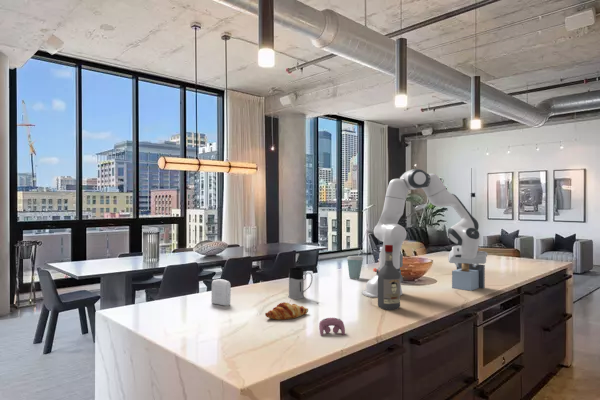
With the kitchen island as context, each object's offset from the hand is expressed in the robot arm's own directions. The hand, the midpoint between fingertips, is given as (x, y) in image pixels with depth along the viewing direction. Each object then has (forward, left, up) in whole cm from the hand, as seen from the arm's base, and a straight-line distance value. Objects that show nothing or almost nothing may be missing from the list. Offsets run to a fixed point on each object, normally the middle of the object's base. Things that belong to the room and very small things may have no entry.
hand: (465, 266), depth 251 cm
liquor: (-64, -28, -13) cm, 71 cm away
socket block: (-1, -1, -13) cm, 13 cm away
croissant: (-115, -31, -14) cm, 120 cm away
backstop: (-3, -2, -13) cm, 14 cm away
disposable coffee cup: (-49, +48, -13) cm, 70 cm away
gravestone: (-141, +1, -13) cm, 141 cm away
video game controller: (-104, -58, -13) cm, 120 cm away
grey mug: (-99, +4, -13) cm, 100 cm away
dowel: (-1, -1, -8) cm, 8 cm away
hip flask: (-29, +35, -13) cm, 48 cm away
